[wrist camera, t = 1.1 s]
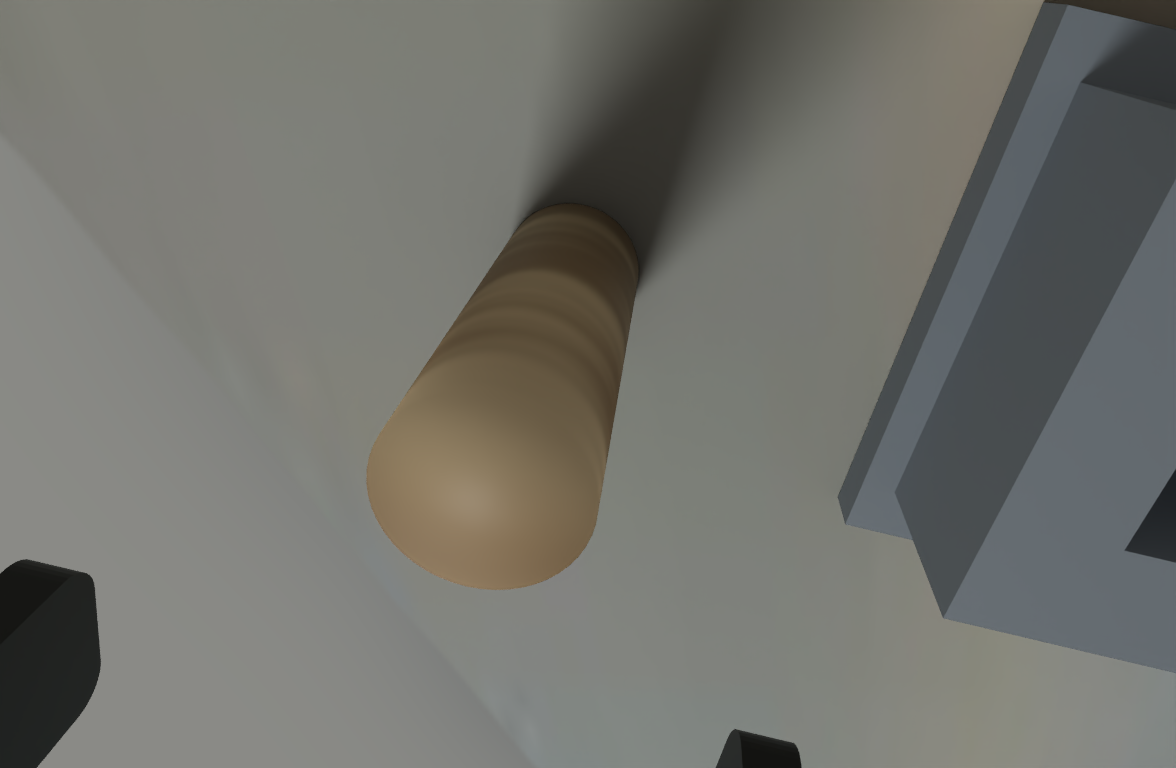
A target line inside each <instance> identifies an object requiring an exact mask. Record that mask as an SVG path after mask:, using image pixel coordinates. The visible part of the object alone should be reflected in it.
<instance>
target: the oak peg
mask: <svg viewBox="0 0 1176 768" xmlns="http://www.w3.org/2000/svg"><path fill="white" fill-rule="evenodd" d="M638 275H639V267H638V259H637V255H636V251H635V248H634V246H633V243H632V242H631V240H630V238H629V236H628V235H627V233H626V232H625V231H624V229H623V228H622V227H621V226H620V225H619V224H618V223H617V222H616V221H615V220H614V219H612V218H611V217H610V216H608V215H607V214H605V213H603V212H602V211H599V210H597V209H595V208H592V207H589V206H586V205H580V204H568V203H566V204H557V205H553V206H549V207H546V208H543V209H541V210H539V211H537V212H535V213H534V214H532V215H531V216H529V217H528V218H527V219H526V220H525V221H524V222H523V223H522V224H521V225H520V226H519V227H518V228H517V230H516V231H515V232H514V234H513V235H512V237H511V238H510V240H509V241H508V243H507V244H506V246H505V247H504V249H503V250H502V252H501V253H500V255H499V256H498V258H497V259H496V261H495V262H494V264H493V265H492V267H491V268H490V270H489V271H488V273H487V274H486V276H485V277H484V279H483V280H482V282H481V283H480V285H479V286H478V288H477V289H476V291H475V292H474V294H473V295H472V297H471V298H470V300H469V301H468V303H467V304H466V306H465V307H464V308H463V310H462V311H461V313H460V314H459V316H458V317H457V319H456V320H455V322H454V323H453V325H452V326H451V328H450V329H449V331H448V332H447V334H446V335H445V337H444V338H443V340H442V341H441V343H440V344H439V346H438V347H437V349H436V350H435V352H434V353H433V355H432V356H431V358H430V359H429V361H428V362H427V364H426V365H425V367H424V368H423V370H422V371H421V373H420V374H419V376H418V377H417V379H416V380H415V382H414V383H413V385H412V386H411V388H410V389H409V391H408V392H407V394H406V395H405V397H404V398H403V400H402V401H401V402H400V404H399V405H398V407H397V408H396V410H395V411H394V413H393V414H392V416H391V417H390V419H389V420H388V422H387V423H386V425H385V426H384V428H383V429H382V431H381V432H380V434H379V436H378V437H377V439H376V441H375V443H374V445H373V447H372V450H371V453H370V456H369V460H368V466H367V490H368V496H369V500H370V503H371V507H372V510H373V512H374V514H375V516H376V519H377V521H378V522H379V524H380V526H381V528H382V529H383V531H384V532H385V534H386V535H387V536H388V538H389V539H390V540H391V541H392V543H393V544H394V545H395V546H396V547H397V548H398V549H399V550H400V551H401V552H402V553H403V554H404V555H406V556H407V557H408V558H409V559H410V560H412V561H413V562H414V563H416V564H417V565H419V566H420V567H422V568H423V569H425V570H426V571H428V572H430V573H432V574H434V575H436V576H438V577H440V578H443V579H445V580H448V581H450V582H453V583H457V584H460V585H464V586H468V587H473V588H479V589H490V590H505V589H515V588H522V587H526V586H530V585H534V584H537V583H539V582H542V581H544V580H547V579H549V578H551V577H553V576H555V575H556V574H558V573H560V572H561V571H563V570H564V569H565V568H567V567H568V566H569V565H570V564H571V563H572V562H573V561H574V560H575V559H576V558H578V557H579V555H580V554H581V553H582V551H583V550H584V549H585V547H586V546H587V544H588V542H589V540H590V538H591V536H592V534H593V531H594V528H595V525H596V521H597V515H598V509H599V503H600V497H601V492H602V486H603V480H604V474H605V468H606V463H607V457H608V451H609V445H610V439H611V434H612V428H613V422H614V416H615V410H616V405H617V399H618V393H619V387H620V381H621V376H622V370H623V364H624V358H625V352H626V346H627V341H628V335H629V329H630V323H631V317H632V312H633V306H634V300H635V294H636V288H637V283H638Z"/></svg>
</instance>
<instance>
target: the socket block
mask: <svg viewBox="0 0 1176 768" xmlns="http://www.w3.org/2000/svg"><path fill="white" fill-rule="evenodd" d="M838 499H839V503H840V507H841V510H842V514H843V517H844V521H845V524H846V525H851V526H855V527H859V528H863V529H868V530H872V531H876V532H880V533H885V534H889V535H893V536H897V537H902V538H906V539H910V540H913V541H914V544H915V547H916V549H917V552H918V554H919V557H920V559H921V562H922V565H923V567H924V570H925V572H926V575H927V578H928V580H929V583H930V585H931V588H932V590H933V593H934V596H935V598H936V601H937V603H938V606H939V609H940V611H941V614H942V616H943V618H945V619H949V620H953V621H957V622H962V623H966V624H970V625H974V626H978V627H983V628H987V629H991V630H995V631H1000V632H1004V633H1008V634H1012V635H1017V636H1021V637H1025V638H1029V639H1034V640H1038V641H1042V642H1046V643H1051V644H1055V645H1059V646H1063V647H1068V648H1072V649H1076V650H1080V651H1085V652H1089V653H1093V654H1097V655H1101V656H1106V657H1110V658H1114V659H1118V660H1123V661H1127V662H1131V663H1135V664H1140V665H1144V666H1148V667H1152V668H1157V669H1161V670H1165V671H1169V672H1174V673H1176V29H1171V28H1167V27H1163V26H1158V25H1154V24H1150V23H1145V22H1141V21H1137V20H1132V19H1128V18H1124V17H1119V16H1115V15H1110V14H1106V13H1102V12H1097V11H1093V10H1089V9H1084V8H1080V7H1076V6H1071V5H1066V4H1055V3H1045V2H1044V3H1043V5H1042V7H1041V10H1040V12H1039V15H1038V17H1037V19H1036V22H1035V24H1034V27H1033V29H1032V31H1031V34H1030V36H1029V39H1028V41H1027V43H1026V46H1025V48H1024V51H1023V53H1022V55H1021V58H1020V60H1019V63H1018V65H1017V67H1016V70H1015V72H1014V75H1013V77H1012V79H1011V82H1010V84H1009V87H1008V89H1007V91H1006V94H1005V96H1004V99H1003V101H1002V104H1001V106H1000V108H999V111H998V113H997V116H996V118H995V120H994V123H993V125H992V128H991V130H990V132H989V135H988V137H987V140H986V142H985V144H984V147H983V149H982V152H981V154H980V156H979V159H978V161H977V164H976V166H975V168H974V171H973V173H972V176H971V178H970V180H969V183H968V185H967V188H966V190H965V193H964V195H963V197H962V200H961V202H960V205H959V207H958V209H957V212H956V214H955V217H954V219H953V221H952V224H951V226H950V229H949V231H948V233H947V236H946V238H945V241H944V243H943V245H942V248H941V250H940V253H939V255H938V257H937V260H936V262H935V265H934V267H933V269H932V272H931V274H930V277H929V279H928V282H927V284H926V286H925V289H924V291H923V294H922V296H921V298H920V301H919V303H918V306H917V308H916V310H915V313H914V315H913V318H912V320H911V322H910V325H909V327H908V330H907V332H906V334H905V337H904V339H903V342H902V344H901V346H900V349H899V351H898V354H897V356H896V358H895V361H894V363H893V366H892V368H891V370H890V373H889V375H888V378H887V380H886V383H885V385H884V387H883V390H882V392H881V395H880V397H879V399H878V402H877V404H876V407H875V409H874V411H873V414H872V416H871V419H870V421H869V423H868V426H867V428H866V431H865V433H864V435H863V438H862V440H861V443H860V445H859V447H858V450H857V452H856V455H855V457H854V459H853V462H852V464H851V467H850V469H849V472H848V474H847V476H846V479H845V481H844V484H843V486H842V488H841V491H840V493H839V496H838Z"/></svg>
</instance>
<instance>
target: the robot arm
mask: <svg viewBox="0 0 1176 768" xmlns="http://www.w3.org/2000/svg"><path fill="white" fill-rule="evenodd" d="M100 666H101V659H100V647H99V635H98V622H97V610H96V598H95V587H94V582H93V579H92V578H91V576H90V575H88V574H87V573H83V572H79V571H74V570H70V569H66V568H62V567H57V566H53V565H49V564H45V563H40V562H36V561H32V560H27V559H26V560H20V561H17V562H15V563H14V564H12V565H10V566H9V567H8V568H6V569H5V570H4V571H3V572H2V573H1V574H0V768H37V767H38V765H39V764H40V763H41V762H42V761H43V759H44V758H45V757H46V756H47V754H48V753H49V752H50V751H51V750H52V748H53V747H54V746H55V745H56V743H57V742H58V741H59V740H60V739H61V738H62V736H63V735H64V734H65V733H66V731H67V730H68V729H69V728H70V726H71V725H72V724H73V723H74V722H75V720H76V719H77V718H78V717H79V716H80V714H81V713H82V711H83V710H84V708H85V707H86V705H87V703H88V702H89V700H90V698H91V696H92V694H93V692H94V689H95V686H96V684H97V681H98V677H99V673H100ZM716 768H802V767H801V760H800V755H799V751H798V748H797V746H796V745H795V744H794V743H791V742H787V741H783V740H779V739H774V738H770V737H766V736H762V735H757V734H753V733H749V732H745V731H741V730H736V729H734V730H733V731H732V732H731V733H730V735H729V737H728V739H727V741H726V744H725V746H724V749H723V751H722V754H721V756H720V759H719V761H718V764H717V766H716Z"/></svg>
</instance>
